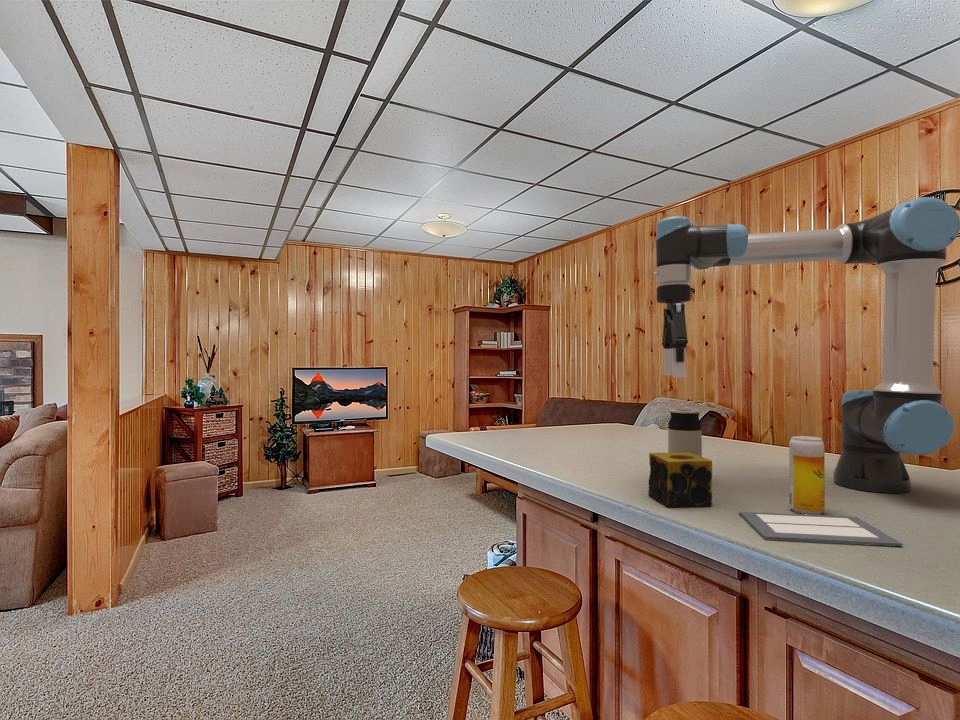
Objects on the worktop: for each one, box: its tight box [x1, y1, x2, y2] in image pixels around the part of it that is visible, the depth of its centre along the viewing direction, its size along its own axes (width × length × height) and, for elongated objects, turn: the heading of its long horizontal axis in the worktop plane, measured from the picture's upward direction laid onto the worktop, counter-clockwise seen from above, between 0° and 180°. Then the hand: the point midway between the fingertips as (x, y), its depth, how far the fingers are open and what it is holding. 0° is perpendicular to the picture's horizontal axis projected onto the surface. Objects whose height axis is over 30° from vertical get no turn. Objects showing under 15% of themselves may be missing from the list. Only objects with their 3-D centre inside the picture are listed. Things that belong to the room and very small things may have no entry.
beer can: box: [788, 435, 826, 515], centre depth 108 cm, size 6×6×15 cm
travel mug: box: [667, 408, 703, 457], centre depth 136 cm, size 8×8×18 cm
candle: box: [648, 452, 713, 509], centre depth 117 cm, size 10×10×10 cm
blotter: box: [738, 511, 903, 548], centre depth 97 cm, size 21×15×1 cm
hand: (674, 376), depth 124 cm, fingers open, 13 cm apart
